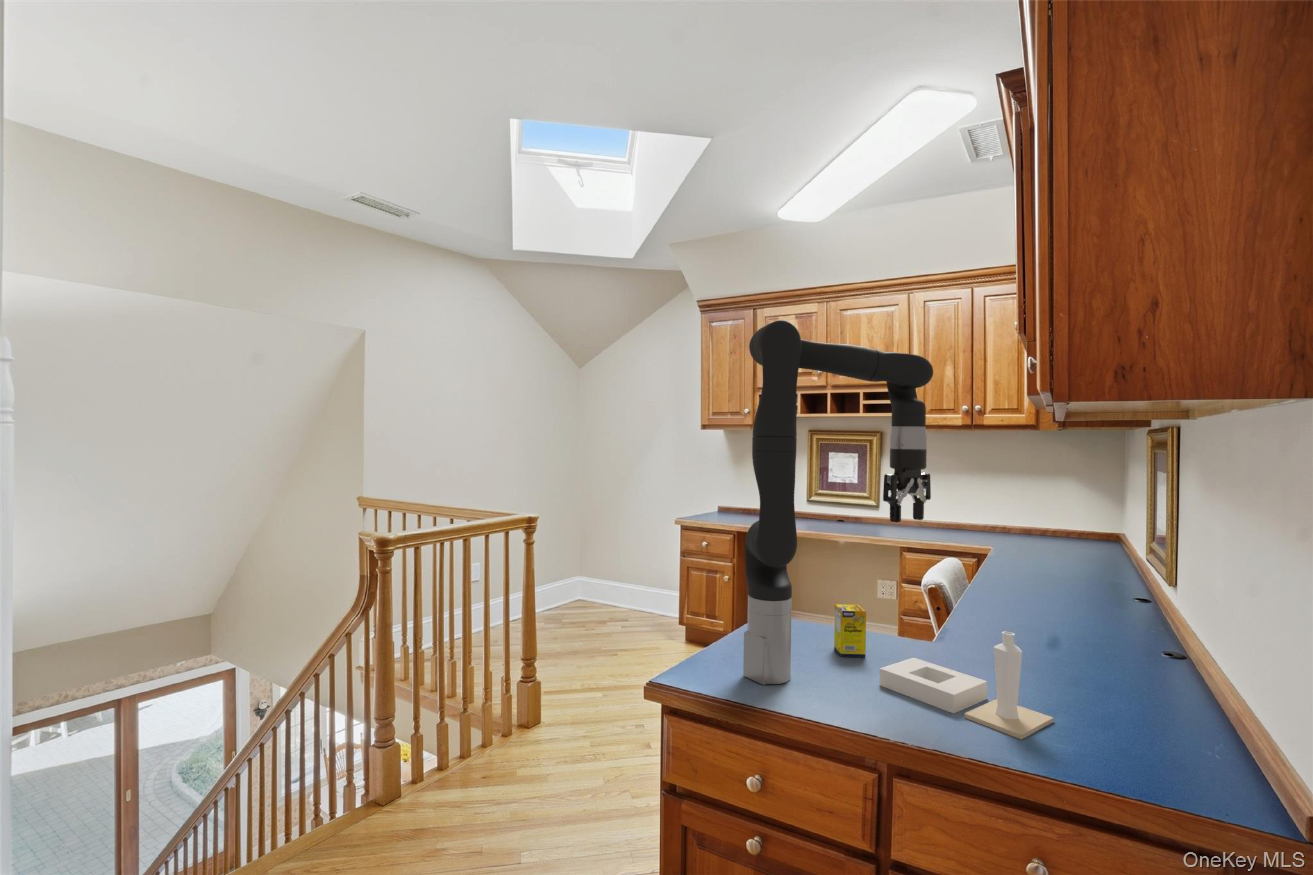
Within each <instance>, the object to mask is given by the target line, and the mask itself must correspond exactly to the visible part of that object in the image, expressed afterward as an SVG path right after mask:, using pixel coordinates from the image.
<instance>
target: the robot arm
mask: <svg viewBox="0 0 1313 875" xmlns="http://www.w3.org/2000/svg"><path fill="white" fill-rule="evenodd" d="M748 347H749V349H748V350H749V353H750V356H751V357H752V359H753V360H754V362H756V363H757V364H758V365H759V366H761V367H762V368H761V369H762V387H761V394H760V398H759V402H758V405H757V409H756V412H755V416H754V421H753V425H752V426H753V427H752V437H751V438H752V440H751V441H752V446H751V449H752V450H751V455H752V456H751V457H752V465H753V472H754V476H755V481H756V485H757V489H758V493H759V515H758V520H757V521H754V522H753V523H752V525H750V526H749V528H748V530H747V533H746V536H745V542H744V543H745V545H744V547H745V550H744V553H745V554H744V556H745V557H744V558H745V562H744V563H745V564H744V565H745V578H746V579H745V581H746V584H747V628H746V629H747V630H745V631H744V633H743V666H742V667H743V670H742V671H743V672H742V673H743V677H745V678H747V679H750V680H751V681H753V682H756V683H758V684H760V685H763V686H765V685H779V684H780V685H781V684H784V683H788V682H789V681H790V680H791V678H792V674H791V672H792V666H791V665H792V610H793V609H792V604H793V603H792V602H793V601H792V600H793V598H792V596H793V589H792V588H793V587H792V584H791V583H792V582H791V581H790V577H789V575H788V569H787V568H788V567H787V565H789V564H790V563H791V562H792V560H794V557H795V555H796V552H797V548H798V535H797V534H798V532H797V522H796V511H795V509H796V508H795V491H796V490H795V489H796V464H797V463H796V461H797V445H798V444H797V443H798V442H797V441H798V439H797V436H798V434H797V409H798V408H797V406H798V405H797V403H798V402H797V401H798V400H797V398H798V396H797V393H798V392H797V388H798V376H799V369H802V370H803V369H804V370H809V371H810V370H811V371H816V372H817V371H818V372H823V373H827V374H828V373H829V374H832V375H837V376H842V377H847V378H851V379H855V380H856V379H857V380H860V381H861V380H862V381H866V382H867V381H868V382H874V383H877V382H878V383H879V382H886V388H887V393H888V397H889V401H890V405H891V430H890V436H889V437H890V439H889V468H891V469H894V472H893V473H892V474H891V473H885V474H884V475H883V491H882V500H883V502H884V503H885V502H886V503H888V505H889V521H890V522H892V523H901V521H902V505H901V504H902V502H903V501H904V500H903V499H904V498H906V497H907V495H909V496H911V499H912V501H913V502H912V503H913V504H912V518H913V520H916V521H923V520H924V519H925V518H924V515H925V514H924V512H925V504H926V502H927V501H930V500H931V498H932V497H931V496H932V493H931V492H932V491H931V489H932V486H931V485H932V484H931V474H930V473H926V472H922V471H923V470H925V469H926V468H927V455H928V454H927V447H928V446H927V440H928V439H927V436H928V435H927V428H926V424H927V423H926V422H927V419H926V418H927V416H926V415H927V410H926V404H925V402H924V401H922V400H920V399H918V395H917V393H918V392H917V389H918V388H921V387H924V386H926V385H927V384H929V383H930V381H931V380H932V378H933V377H934V368H933V366H932V363H931V362H930V361H929V360H928V359H927V358H925V357H924V356H921V355H918V354H913V353H905V352H893V351H884V350H883V351H882V350H879V349H875V348H870V347H865V346H860V345H855V344H845V343H844V344H843V343H831V342H830V343H828V342H819V341H818V342H817V341H812V340H806V339H802V338H801V334H800V331H799V330H798V329H797V327H796V326H795V325H794V323H792V322H790V321H789V320H788V321H787V320H784V319H783V320H782V319H778V320H775V321H772V322H770V323H767V324H766V325H764V326H762V327H760V328H759V329H757V331H755V332H754V334H753V335H752V336H751V338H750V341H749V346H748ZM889 494H890V495H889Z"/></svg>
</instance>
